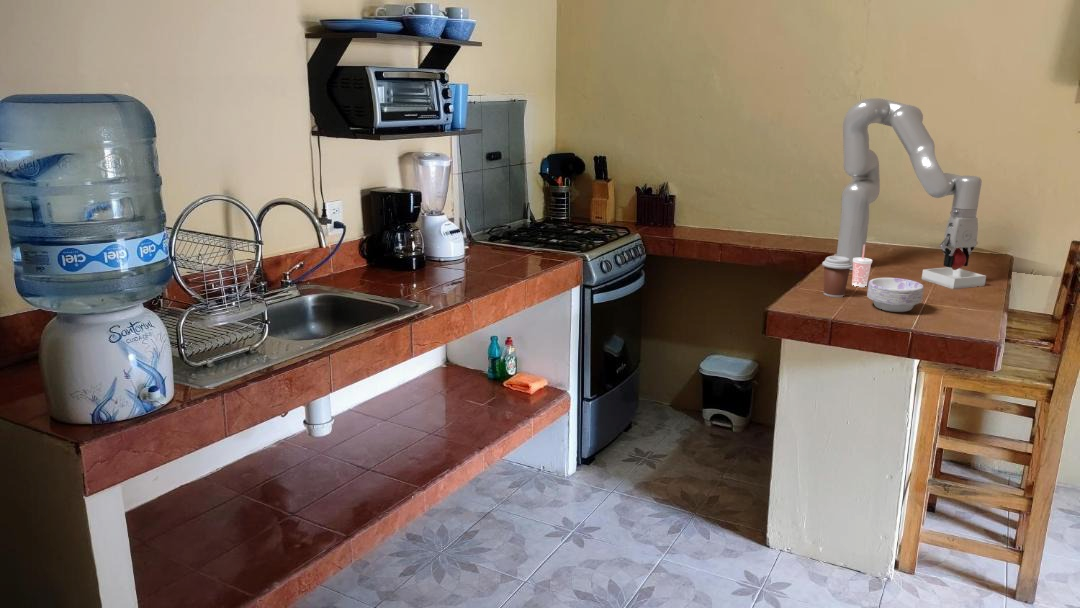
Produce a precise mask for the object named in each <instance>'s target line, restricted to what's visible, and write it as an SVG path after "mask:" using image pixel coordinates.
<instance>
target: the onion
mask: <svg viewBox="0 0 1080 608" xmlns="http://www.w3.org/2000/svg"><path fill="white" fill-rule="evenodd" d="M952 256H954V260H953V266H952V269H953V270H957V269H959V268H960V269H962V268H963V267H965V266H964V265H965V263H966V256H965V254H964V252H963V251H962V249H961V248H956V249H955V251H954V253H953V255H952Z"/></svg>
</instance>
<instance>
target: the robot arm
mask: <svg viewBox="0 0 1080 608" xmlns="http://www.w3.org/2000/svg"><path fill="white" fill-rule="evenodd" d="M923 120H924V114H923V112H922V110H921V109H920V108H919V107H917V106H915V105H911V104H905V103H901V102H897V101H894V100H888V99H886V98H877V97H876V98H867V99H866V98H865V99H863V100H860V101H858V102H857V103H855V104H854V105H853V106H852V107H850V108H849V109H848V110H847V112H846V114H845V116H844V119H843V122H842V140H843V141H842V142H843V144H842V147H843V149H842V151H843V169H844V171H845V173H846V174H847V175H848V176H850V177H851V178H852V179H851V180H852V181H851V182H850V183H848V184H846V186H845V187H844V189H843V190H842V194H841V203H840V205H841V213H840V222H839V232H838V241H837V248H836V249H837V250H836V253H834V255H833V256H842V257H846V258H849V259H850V262H851V264H853V258H857V257H861V258H862V254H863V246H864V245H865V248H866V246H867V239H868V231H869V223H870V222H869V221H870V205H871V204H872V203H874V202H875V201H876V200H877V199H878V198H879V195H880V190H881V189H880V188H881V187H880V185H881V184H880V162H879V161H880V160H879V158H878V156H877V154H876V152H874V151H873V150H872V149H870V137H869V136H870V135H869V131H868V130H869V129H868V128H869V125H871V124H879V125H884V126H887V127H891V128H892V129H893V131H894V132H895V135H896V136H897V137H898V139H899V141H900V142H901V144H902V146H903V148H904V149H905V152H907V154H908V157H909V160H910V163H911V165H912V168H913V170H914V174H915V175H916V177H917V179H918V181H919V182H920V184H921V185H922V187H923V189H924V191H925V192H926V193H927V194H928V196H930V197H932V198H935V199H940V198H944V197H946V196H953V198H952V203H951V204H952V205H951V211H950V212H949V213H950V217H949V218H948V221H947V223H946V227H945V230H944V231H945V232H944V236H943V240H942V242H941V243H940V244H939V247H940V249H941V251H942V252H943V255H944V259H943V267H950V268H952V266H953V260H954V256H952V255H953V253H954V251H955V249H956V248H960V249H961V250H962V251H963V252H964V254H965V256H966V263H965V265H964V266H963V267H968V264H969V259H970V255H971V254H972V251H973V250H974V249H975V248H976V247H977V245H978V243H979V242H978V234H979V233H978V229H979V223H978V221H979V220H978V217H977V214H978V208H979V201H980V195H981V189H982V178H981V177H979V176H977V175H959V174H954V173H950V172H949V173H948V172H944V171H943V170H942V168H941V167H940V164H939V162H938V160H937V157H936V153H935V148H936V147H935V145H936V144H935V142H934V140H933V137H932V136H931V135H930V133H929V132H928V130H927V128H926V127H925V125H924V123H923ZM865 254H866V250H865V251H864V256H865ZM825 260H826V258H825V259H824V261H825ZM850 271H853V267H852V268H850Z"/></svg>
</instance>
